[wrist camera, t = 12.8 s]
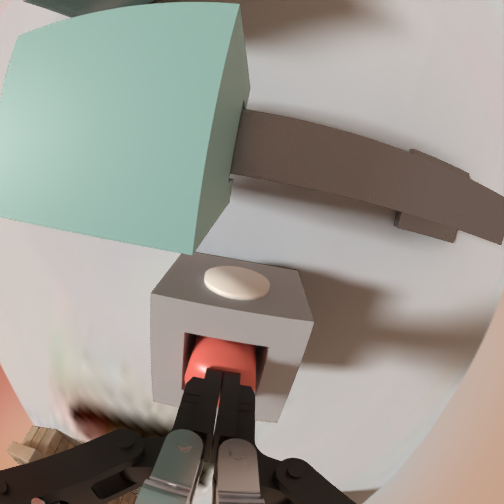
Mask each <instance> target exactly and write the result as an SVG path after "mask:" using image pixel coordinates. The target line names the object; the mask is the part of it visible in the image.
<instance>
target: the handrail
mask: <svg viewBox="0 0 504 504" xmlns="http://www.w3.org/2000/svg"><path fill="white" fill-rule="evenodd" d="M230 174H236V175H242V176H247V177H253V178H259V179H264V180H269V181H275V182H280V183H285V184H290V185H295V186H299V187H304V188H309V189H313V190H318V191H322V192H327V193H331V194H335V195H340V196H344V197H348V198H352V199H356V200H360V201H364V202H368V203H371V204H375V205H379V206H383V207H386V208H390V209H393V210H397V214H396V218H395V222H394V226H396V227H397V228H401V229H405V230H408V231H412V232H416V233H420V234H423V235H427V236H430V237H434V238H437V239H441V240H444V241H448V242H451V243H453V242H454V239H455V235H456V231H457V229H458V230H461V231H464V232H467V233H469V234H472V235H475V236H478V237H481V238H483V239H486V240H489V241H491V242H494V243H497V244H499V245H501V244H502V241H503V237H504V197H503V196H501V195H500V194H498V193H496V192H494V191H492V190H490V189H489V188H487V187H485V186H483V185H481V184H479V183H477V182H475V181H473V180H471V179H469V173H467V172H465V171H463V170H461V169H459V168H457V167H454V166H452V165H450V164H448V163H446V162H444V161H441V160H439V159H437V158H435V157H432V156H430V155H427V154H425V153H423V152H420V151H418V150H415V149H410V153H409V152H406V151H404V150H401V149H398V148H395V147H393V146H390V145H387V144H384V143H381V142H378V141H375V140H372V139H369V138H366V137H362V136H359V135H356V134H352V133H349V132H345V131H342V130H338V129H335V128H331V127H327V126H323V125H319V124H315V123H311V122H307V121H302V120H298V119H293V118H289V117H284V116H279V115H273V114H268V113H262V112H257V111H251V110H244V109H242V110H241V115H240V120H239V125H238V131H237V136H236V141H235V147H234V152H233V158H232V163H231V169H230Z"/></svg>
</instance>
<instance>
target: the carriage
mask: <svg viewBox="0 0 504 504" xmlns="http://www.w3.org/2000/svg"><path fill="white" fill-rule="evenodd" d="M249 92H250V82H249V73H248V65H247V56H246V48H245V40H244V32H243V24H242V16H241V9H240V4H235V3H220V2H170V3H155V4H144V5H135V6H128V7H121V8H115V9H109V10H104V11H99V12H94V13H89V14H85V15H81V16H77V17H73V18H69V19H66V20H62V21H59V22H56V23H52V24H49V25H46V26H43V27H40V28H38V29H35V30H32V31H29V32H27V33H24V34H22V35H19V36H18V38H17V41H16V44H15V46H14V49H13V52H12V56H11V59H10V62H9V65H8V69H7V73H6V76H5V80H4V84H3V88H2V93H1V97H0V217H1V218H6V219H11V220H15V221H20V222H25V223H29V224H34V225H39V226H44V227H49V228H54V229H59V230H63V231H68V232H73V233H78V234H83V235H88V236H93V237H98V238H104V239H109V240H114V241H119V242H124V243H129V244H134V245H140V246H145V247H150V248H156V249H161V250H166V251H172V252H177V253H182V254H188V255H193V254H194V252H195V251H196V249H197V248H198V246H199V245H200V243H201V242H202V240H203V239H204V237H205V236H206V235H207V233H208V232H209V230H210V229H211V227H212V226H213V225H214V223H215V222H216V220H217V219H218V217H219V216H220V215H221V213H222V212H223V210H224V209H225V208H226V206H227V205H228V203H229V201H230V195H231V189H232V183H233V179H230V178H229V175H230V169H231V163H232V158H233V152H234V147H235V141H236V136H237V131H238V125H239V120H240V115H241V110H242V109H244V110H246V107H247V102H248V97H249Z"/></svg>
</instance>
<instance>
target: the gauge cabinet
mask: <svg viewBox="0 0 504 504" xmlns="http://www.w3.org/2000/svg"><path fill="white" fill-rule="evenodd" d="M313 325H314V319H313V316H312V312H311V309H310V306H309V303H308V300H307V297H306V294H305V291H304V288H303V285H302V282H301V279H300V276H299V273H298V270H293V269H287V268H281V267H275V266H270V265H264V264H258V263H253V262H247V261H241V260H236V259H230V258H224V257H219V256H213V255H208V254H202V253H197V252H194V254H193V255H188V254H181V255H180V256H179V258H178V259H177V260H176V261H175V263H174V264H173V265H172V266H171V268H170V269H169V270H168V272H167V273H166V274H165V275H164V277H163V278H162V279H161V281H160V282H159V283H158V284H157V286H156V287H155V288H154V290H153V291H152V292H151V310H150V339H151V373H152V391H153V401H154V402H158V403H162V404H166V405H170V406H174V407H179V406H180V403H181V399H182V396H183V393H184V389H185V386H186V385H185V373H186V370H187V367H188V364H189V361H190V358H191V354H192V351H193V348H194V345H195V342H196V339H197V336H198V335H201V336H206V337H212V338H217V339H222V340H228V341H234V342H240V343H246V344H253V345H256V387H255V391H254V393H255V421H265V422H276V423H277V422H278V420H279V417H280V415H281V412H282V410H283V407H284V405H285V402H286V400H287V397H288V395H289V392H290V390H291V387H292V384H293V382H294V379H295V377H296V374H297V371H298V368H299V366H300V363H301V360H302V357H303V355H304V352H305V349H306V346H307V343H308V340H309V337H310V334H311V331H312V328H313ZM217 413H218V407H217V411H216V415H217Z"/></svg>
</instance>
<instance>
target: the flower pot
mask: <svg viewBox="0 0 504 504" xmlns="http://www.w3.org/2000/svg"><path fill="white" fill-rule="evenodd" d="M23 1H24V2H27V3H30V4H33V5H36V6H39V7H43V8H46V9H49V10H51V11H54V12H57V13H60V14H63V15H65V16H68V17H71V18H73V17H77V16H81V15H85V14H89V13H94V12H99V11H104V10H109V9H115V8H121V7H128V6H135V5H144V4H149V3H151V2H152V1H154V0H23Z"/></svg>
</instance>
